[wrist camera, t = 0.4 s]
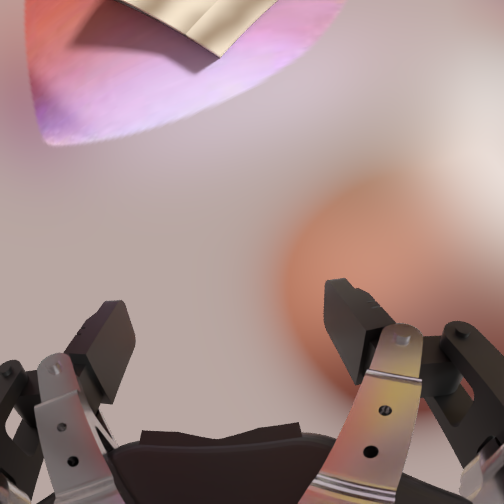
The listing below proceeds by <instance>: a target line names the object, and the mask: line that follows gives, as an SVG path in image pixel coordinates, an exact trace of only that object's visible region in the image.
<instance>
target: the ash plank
mask: <svg viewBox="0 0 504 504" xmlns="http://www.w3.org/2000/svg"><path fill="white" fill-rule="evenodd" d="M121 1H123V2H125V3H127V4H129V5H131V6H133V7H135V8H137V9H139V10H141V11H143V12H145V13H147V14H149V15H151V16H152V17H154V18H156V19H158V20H160V21H161V22H163V23H165V24H167V25H168V26H170V27H172V28H173V29H175V30H177V31H178V32H180V33H182V34H186V33H187V32H188V31H189V30H190V29H191V28H192V27H193V25H194V24H195V23H196V22H197V21H198V20H199V19H200V18H201V17H202V16H203V15H204V14H205V13H206V12H207V11H208V10H209V9H210V8H211V7H212V6H213V5H214V4H215V3H216V2H217V1H218V0H121Z"/></svg>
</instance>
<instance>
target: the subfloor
mask: <svg viewBox="0 0 504 504" xmlns="http://www.w3.org/2000/svg"><path fill="white" fill-rule="evenodd" d="M115 1H117V2H119V3H122V4H124V5H126V6H128V7H131V8H133V9H135V10H137V11H139V12H141V13H143V14H145V15H147V16H149V17H151V18H153V19H155V20H157V21H159V22H161V21H160V20H158V19H156V18H154V17H152V16H151V15H149V14H147V13H145V12H143V11H141V10H139V9H137V8H135V7H133V6H131V5H129V4H127V3H125V2H123V1H121V0H115ZM277 1H278V0H218V1H217V2H216V3H215V4H214V5H213V6H212V7H211V8H210V9H209V10H208V11H207V12H206V13H205V14H204V15H203V16H202V17H201V18H200V19H199V20H198V21H197V22H196V23H195V24H194V25H193V27H192V28H191V29H190V30H189V31H188V32H187V33H186V34H182V33H180V32H179V33H180V34H182V35H184V36H186V37H187V38H189V39H191V40H192V41H194V42H195V43H197V44H199V45H200V46H202V47H203V48H205V49H207V50H208V51H210V52H211V53H213V54H214V55H216V56H217V57H219V58H221V57H222V55H223V54H224V53H225V52H226V51H227V50H228V49H229V48H230V47H231V46H232V45H233V43H234V42H235V41H236V40H237V39H238V38H239V37H240V36H241V35H242V34H243V33H244V32H245V31H246V30H247V29H248V28H249V27H250V26H251V25H252V24H253V23H254V22H255V21H256V20H257V19H258V18H259V17H260V16H261V15H262V14H263V13H265V12H266V11H267V10H268V9H269V8H270V7H271V6H272V5H273V4H274V3H276V2H277ZM161 23H163V22H161ZM163 24H164V25H166V26H168V25H167V24H165V23H163ZM168 27H170V26H168ZM170 28H172V27H170ZM172 29H173V28H172ZM173 30H175V29H173ZM175 31H177V30H175ZM177 32H178V31H177Z"/></svg>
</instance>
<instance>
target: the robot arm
mask: <svg viewBox="0 0 504 504" xmlns="http://www.w3.org/2000/svg"><path fill="white" fill-rule="evenodd" d="M324 324H325V328H326V330H327V332H328V334H329V336H330V338H331V340H332V342H333V343H334V345H335V347H336V349H337V351H338V353H339V354H340V357H341V359H342V361H343V362H344V364H345V366H346V368H347V370H348V372H349V374H350V376H351V378H352V380H353V381H354V384H355V385H359V384H361V386H360V389H359V391H358V394H357V396H356V398H355V401H354V403H353V405H352V408H351V410H350V412H349V414H348V417H347V419H346V421H345V424H344V425H343V428H342V430H341V432H340V434H339V436H338V438H337V439H335V438H332V437H329V436H326V435H321V434H315V433H301V429H300V426H299V422H297V423H291V424H284V425H278V426H270V427H262V428H257V429H254V430H251V431H247V432H244V433H241V434H237V435H234V436H230V437H226V438H222V439H210V438H205V437H199V436H194V435H189V434H185V433H180V432H163V431H143V430H142V433H141V438H140V441H136V442H132V443H128V444H125V445H122V446H120V447H119V446H118V444H117V443H116V441H115V439H114V437H113V435H112V433H111V431H110V429H109V427H108V425H107V423H106V421H105V419H104V417H103V414H102V412H101V411H100V409H99V406H100V403H104V404H113V402H114V399H115V396H116V393H117V391H118V388H119V385H120V383H121V380H122V378H123V375H124V373H125V370H126V367H127V365H128V362H129V360H130V357H131V355H132V353H133V350H134V347H135V333H134V330H133V327H132V324H131V321H130V318H129V315H128V312H127V308H126V306H125V303H124V302H123V301H122V300H117V301H105V302H104V303H103V304H102V306H101V307H100V308H99V310H98V311H97V312H96V313H95V314H94V315H92V316H91V317H90V318H89V319H87V320H86V321H85V323H84V324H83V326H82V327H81V329H80V330H79V331H78V332H77V335H75V337H74V338H73V340H72V341H71V343H70V344H69V345H68V347H67V348H66V350H65V351H64V353H56V354H53V355H50V356H48V357H46V358H45V359H44V360H42V361H41V363H40V364H39V366H38V368H37V370H33V371H26V372H25V370H24V369H23V367H22V365H21V364H20V362H19V361H17V360H10V361H7V362H5V363H3V364H2V365H1V366H0V504H31V500H32V496H33V492H34V489H35V485H36V482H37V478H38V475H39V472H40V468H41V465H42V462H43V459H45V463H46V467H47V470H48V474H49V476H50V479H51V483H52V486H53V489H54V493H52V494H51V495H49V496H48V497H46V498H45V499H43V500H42V501H40V502H39V503H37V504H504V356H503V355H502V354H501V353H500V352H499V351H498V350H497V349H496V348H495V347H494V346H493V345H492V344H491V343H490V342H489V341H488V340H487V339H486V338H485V337H484V336H483V335H482V334H481V333H480V332H479V331H478V330H477V329H476V328H475V327H474V326H472V325H470V324H468V323H466V322H461V321H453V322H450V323H448V324H446V325H445V328H444V330H443V333H442V336H425V337H423V335H422V334H421V332H420V331H419V330H418V329H417V328H415V327H413V326H411V325H408V324H403V323H396V322H395V321H394V320H393V319H392V318H391V317H390V316H389V315H388V314H387V313H386V311H385V310H384V309H383V308H382V307H380V305H379V304H378V303H377V302H376V301H375V299H373V297H372V296H371V295H370V294H369V293H367V292H365V291H363V290H361V289H359V288H356V289H355V288H354V287H353V286H352V285H351V284H350V283H349V282H348V281H347V279H345V278H341V279H333V280H327V281H326V283H325V294H324ZM463 377H464V378H465V379H466V381H467V382H468V383H469V385H470V386H471V387H472V388H473V391H474V401H473V400H472V399H471V397H470V396H469V395H468V393H467V392H466V391H465V389H464V388H463V387H462V385H461V384H460V382H461V380H462V378H463ZM420 398H424V399H425V401H426V402H427V404H428V406H429V407H430V409H431V411H432V412H433V414H434V416H435V418H436V419H437V421H438V423H439V425H440V426H441V428H442V430H443V432H444V433H445V435H446V437H447V439H448V441H449V443H450V444H451V446H452V448H453V450H454V452H455V454H456V456H457V457H458V459H459V461H460V463H461V465H462V467H463V469H464V470H463V472H462V475H461V486H460V488H459V492H460V494H461V495H462V496H460V495H457V494H454V493H452V492H449V491H446V490H443V489H441V488H438V487H435V486H433V485H431V484H428V483H425V482H423V481H421V480H418V479H416V478H414V477H412V476H409V475H407V474H405V473H403V472H402V471H403V468H404V465H405V461H406V458H407V454H408V450H409V447H410V443H411V439H412V435H413V431H414V426H415V421H416V417H417V412H418V406H419V401H420ZM13 407H14V408H15V410H16V411H17V412H18V414H19V415H20V416H21V417H22V421H21V423H20V425H19V427H18V429H17V431H16V434H15V436H14V438H13V440H12V439H11V438H10V437H9V436H8V434H7V432H6V429H5V423H6V420H7V418H8V416H9V414H10V413H11V411H12V409H13Z"/></svg>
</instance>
